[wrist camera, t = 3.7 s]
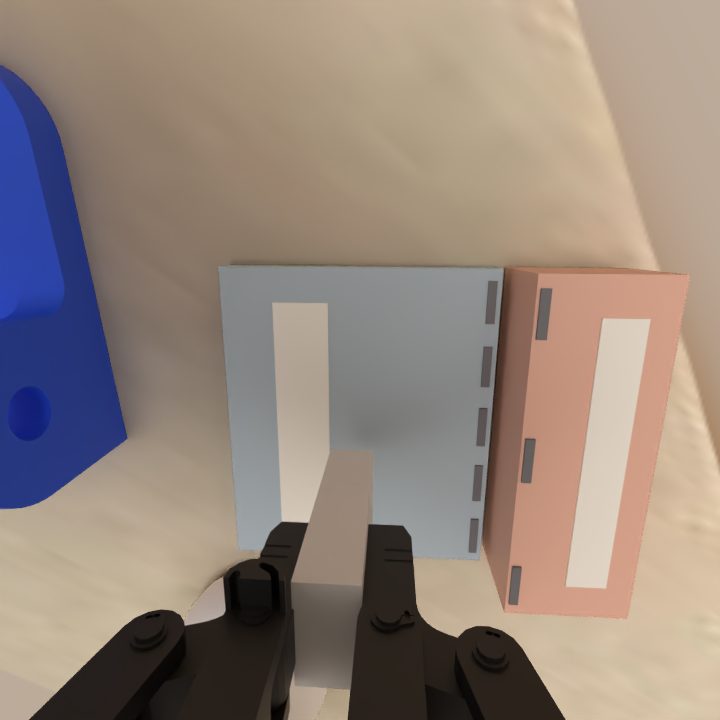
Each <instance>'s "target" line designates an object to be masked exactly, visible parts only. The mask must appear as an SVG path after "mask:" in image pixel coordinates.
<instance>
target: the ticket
mask: <svg viewBox="0 0 720 720" xmlns="http://www.w3.org/2000/svg"><path fill="white" fill-rule="evenodd" d="M503 271H504V269H503V268H498V267H447V266H314V265H225V266H218V272H219V286H220V300H221V314H222V328H223V342H224V356H225V369H226V383H227V397H228V411H229V425H230V439H231V453H232V467H233V481H234V494H235V508H236V522H237V536H238V550H256V551H262V550H263V547H265V543H266V540H267V538H268V536H269V533H270V532H271V531H272V530H273V529H274V528H275V527H276V526H277V525H278V524H279V523H281V522H304V523H309V520H310V517H311V513H312V510H313V507H314V503H315V500H316V497H317V493H318V490H319V487H320V484H321V480H322V477H323V474H324V470H325V467H326V464H327V460H328V457H329V454H330V450H331V449H338V450H368V451H373V516H372V524H380V525H403V526H404V527H405V529H406V530H407V531H408V533H409V534H410V536H411V538H412V552H413V558H436V559H458V560H480V551H481V539H482V527H483V515H484V502H485V490H486V478H487V466H488V454H489V441H490V429H491V417H492V405H493V393H494V380H495V368H496V356H497V344H498V332H499V320H500V307H501V295H502V283H503Z"/></svg>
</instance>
